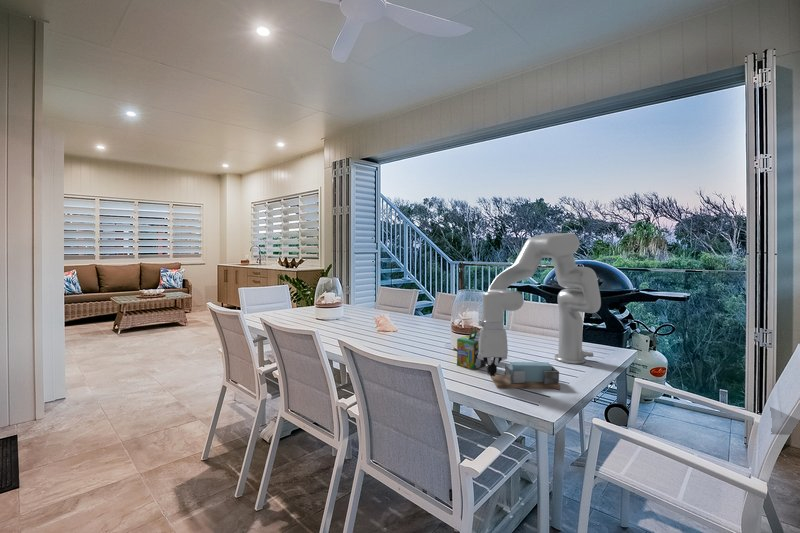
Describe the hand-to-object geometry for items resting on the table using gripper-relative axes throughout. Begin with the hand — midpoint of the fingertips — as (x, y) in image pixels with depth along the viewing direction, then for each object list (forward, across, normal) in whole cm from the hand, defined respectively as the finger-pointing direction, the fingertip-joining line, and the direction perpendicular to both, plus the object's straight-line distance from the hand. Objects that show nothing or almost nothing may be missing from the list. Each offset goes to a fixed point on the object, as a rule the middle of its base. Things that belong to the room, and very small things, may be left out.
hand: (491, 374), depth 146 cm
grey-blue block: (+2, +14, 0) cm, 14 cm away
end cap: (+1, +8, 0) cm, 8 cm away
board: (+3, +12, 0) cm, 12 cm away
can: (+3, +1, +31) cm, 31 cm away
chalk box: (+3, -4, +21) cm, 22 cm away
